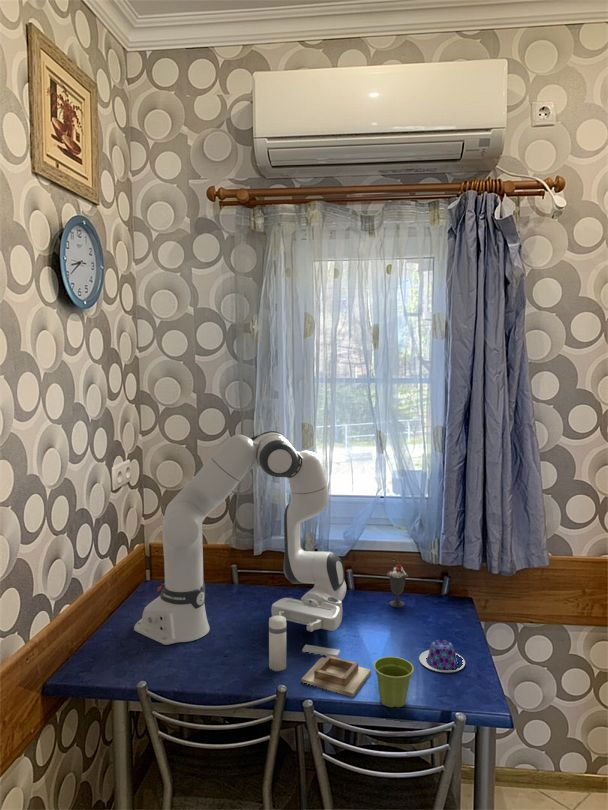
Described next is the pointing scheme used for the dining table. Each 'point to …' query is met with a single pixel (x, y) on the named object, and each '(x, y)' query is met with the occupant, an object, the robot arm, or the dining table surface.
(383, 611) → the dining table surface
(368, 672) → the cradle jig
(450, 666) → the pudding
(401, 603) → the sundae
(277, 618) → the grooved cream capsule
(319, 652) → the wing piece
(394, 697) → the plant pot
